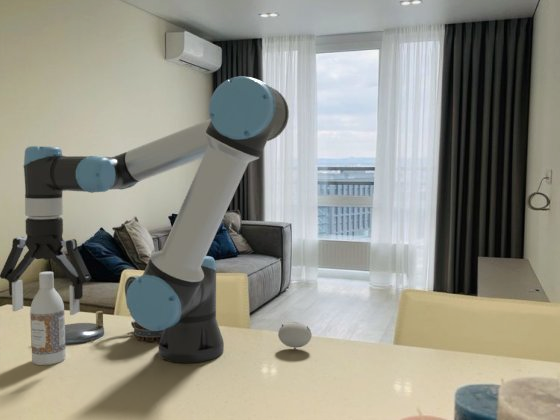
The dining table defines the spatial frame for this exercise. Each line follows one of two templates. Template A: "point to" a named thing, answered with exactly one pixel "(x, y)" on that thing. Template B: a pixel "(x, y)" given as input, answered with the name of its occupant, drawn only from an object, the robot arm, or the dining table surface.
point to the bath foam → (47, 323)
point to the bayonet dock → (84, 331)
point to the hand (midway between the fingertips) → (46, 311)
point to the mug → (140, 331)
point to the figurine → (294, 334)
